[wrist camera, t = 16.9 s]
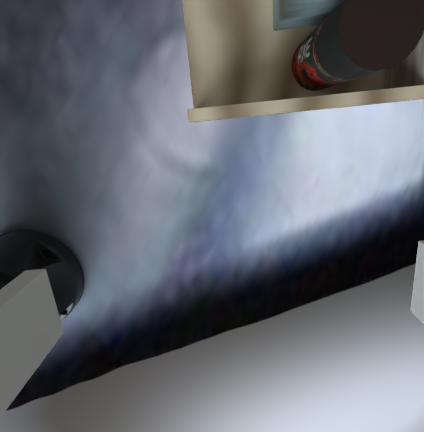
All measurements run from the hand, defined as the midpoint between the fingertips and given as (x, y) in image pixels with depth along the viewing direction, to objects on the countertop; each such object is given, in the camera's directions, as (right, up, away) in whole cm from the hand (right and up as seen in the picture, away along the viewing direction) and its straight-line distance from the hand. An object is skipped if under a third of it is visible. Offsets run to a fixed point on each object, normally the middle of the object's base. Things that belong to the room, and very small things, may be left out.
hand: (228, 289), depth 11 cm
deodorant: (+12, +21, +25) cm, 34 cm away
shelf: (+9, +22, +25) cm, 35 cm away
